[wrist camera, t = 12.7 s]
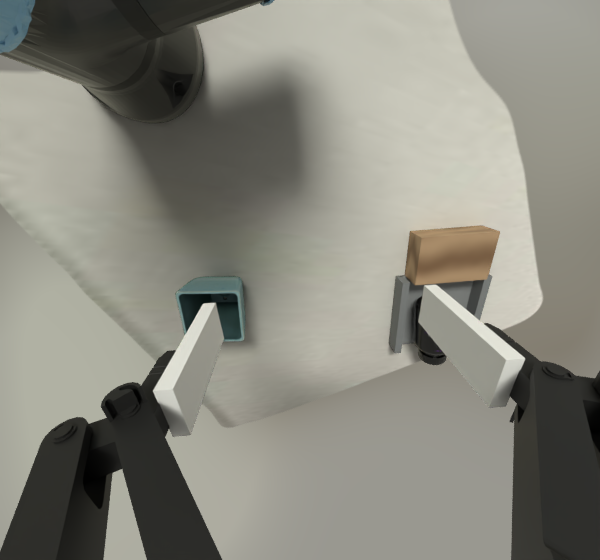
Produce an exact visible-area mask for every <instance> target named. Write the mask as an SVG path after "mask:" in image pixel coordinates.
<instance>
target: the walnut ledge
mask: <svg viewBox="0 0 600 560" xmlns="http://www.w3.org/2000/svg"><path fill="white" fill-rule="evenodd" d="M499 234H500V231H497V230H494V229H491V228H488V227H485V226H470V227H457V228H445V229H432V230H419V231H410V237H409V245H408V253H407V261H406V270H405V276H406V277H407V278H408V279H409V280H410V281H411V282H412V283H413V284H414V285H425V284H437V283H450V282H462V281H474V280H486V279H487V278H488V274H489V271H490V267H491V263H492V260H493V256H494V253H495V249H496V245H497V242H498V238H499Z"/></svg>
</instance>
